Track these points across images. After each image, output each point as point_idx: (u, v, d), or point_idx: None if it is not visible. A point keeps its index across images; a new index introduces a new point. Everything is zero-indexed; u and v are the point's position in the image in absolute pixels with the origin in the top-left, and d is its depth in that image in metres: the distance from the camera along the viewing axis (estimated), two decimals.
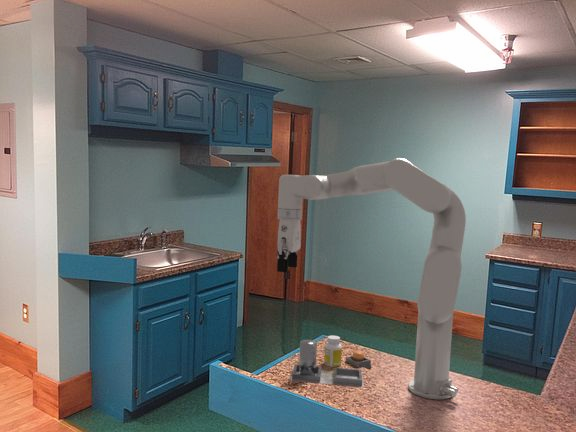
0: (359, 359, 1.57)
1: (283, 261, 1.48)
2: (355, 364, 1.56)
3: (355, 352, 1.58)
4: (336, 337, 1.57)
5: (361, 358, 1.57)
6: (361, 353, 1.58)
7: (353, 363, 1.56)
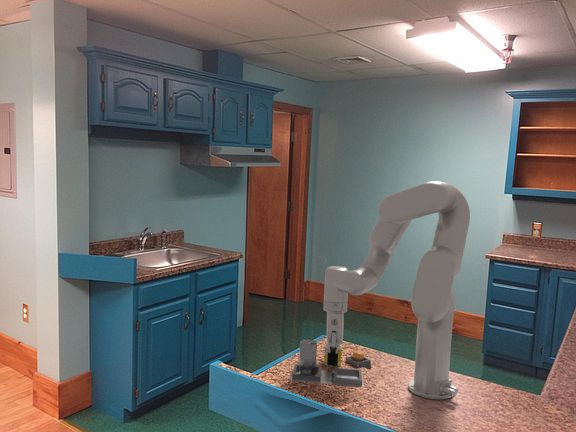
0: (359, 359, 1.57)
1: (334, 355, 1.53)
2: (355, 364, 1.56)
3: (355, 352, 1.58)
4: None
5: (361, 358, 1.57)
6: (361, 353, 1.58)
7: (353, 363, 1.56)
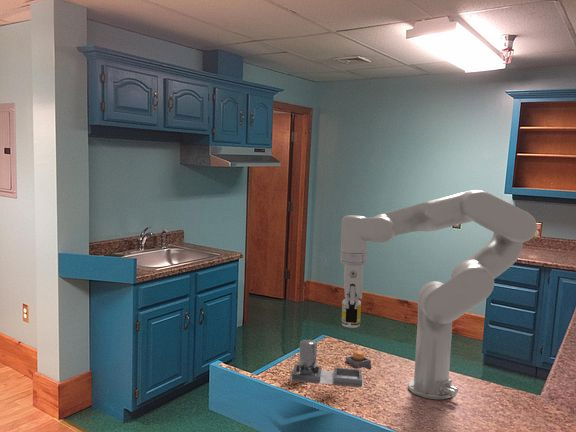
0: (359, 359, 1.57)
1: (353, 311, 1.40)
2: (355, 364, 1.56)
3: (355, 352, 1.58)
4: None
5: (361, 358, 1.57)
6: (361, 353, 1.58)
7: (353, 363, 1.56)
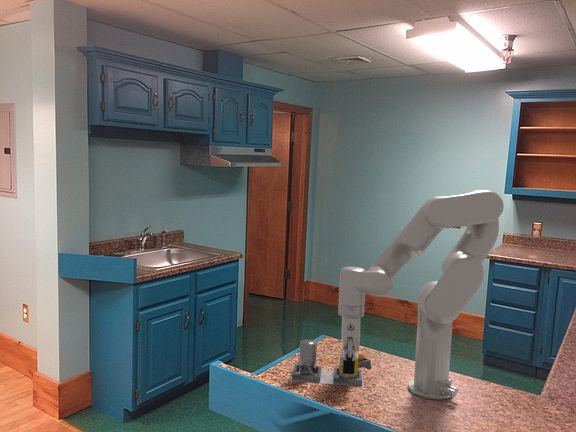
0: (359, 359, 1.57)
1: (350, 363, 1.40)
2: None
3: (355, 352, 1.58)
4: None
5: (361, 358, 1.57)
6: (361, 353, 1.58)
7: None
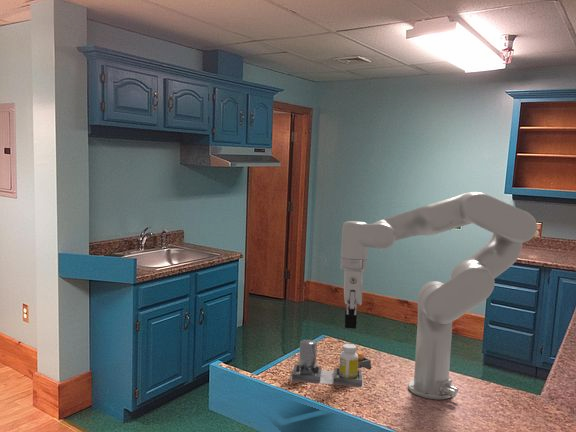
0: (359, 359, 1.57)
1: (352, 317, 1.41)
2: None
3: (355, 352, 1.58)
4: (352, 346, 1.45)
5: (361, 358, 1.57)
6: (361, 353, 1.58)
7: None
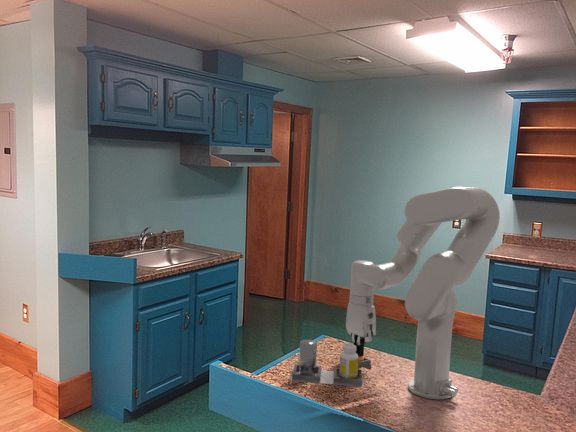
0: None
1: (362, 346, 1.58)
2: None
3: None
4: (352, 346, 1.45)
5: None
6: (361, 356, 1.58)
7: None
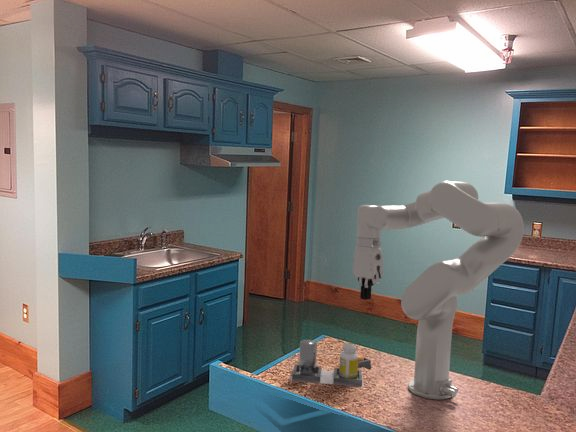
0: None
1: (370, 289, 1.60)
2: None
3: None
4: (352, 346, 1.45)
5: None
6: (361, 357, 1.58)
7: None
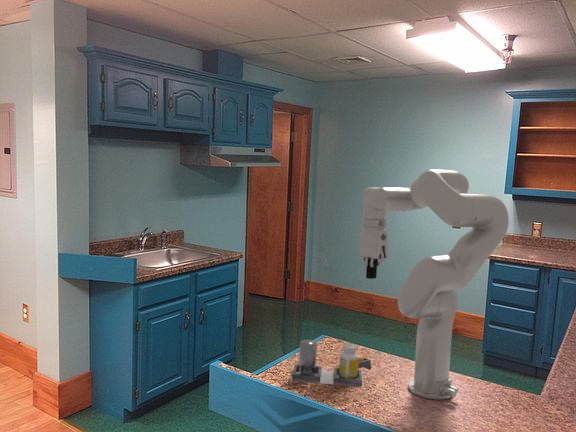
0: None
1: (375, 269, 1.66)
2: None
3: None
4: (352, 346, 1.45)
5: None
6: (361, 357, 1.58)
7: None
